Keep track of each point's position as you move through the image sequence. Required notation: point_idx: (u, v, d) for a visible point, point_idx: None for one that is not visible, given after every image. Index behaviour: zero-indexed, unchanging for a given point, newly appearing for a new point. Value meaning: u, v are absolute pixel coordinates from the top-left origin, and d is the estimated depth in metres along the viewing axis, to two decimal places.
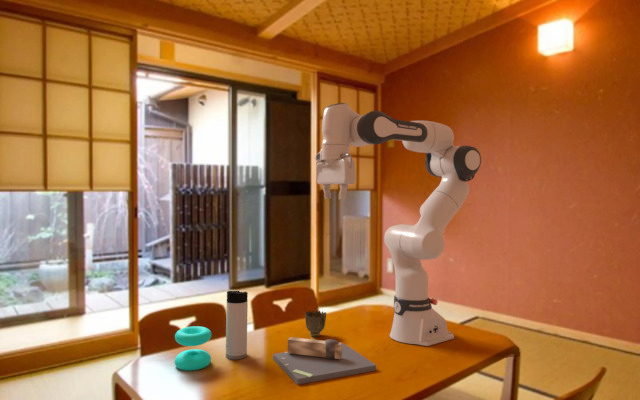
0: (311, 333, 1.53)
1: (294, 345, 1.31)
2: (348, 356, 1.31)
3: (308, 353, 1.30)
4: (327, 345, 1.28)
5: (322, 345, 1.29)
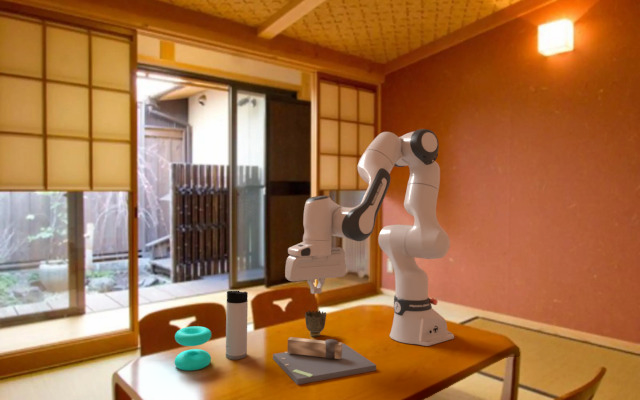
0: (311, 333, 1.53)
1: (294, 345, 1.31)
2: (348, 356, 1.31)
3: (308, 353, 1.30)
4: (327, 345, 1.28)
5: (322, 345, 1.29)
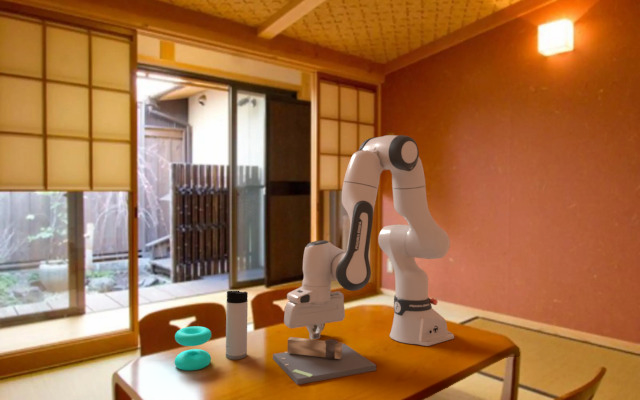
0: None
1: (294, 345, 1.31)
2: (348, 356, 1.31)
3: (308, 353, 1.30)
4: (327, 345, 1.28)
5: (322, 345, 1.29)
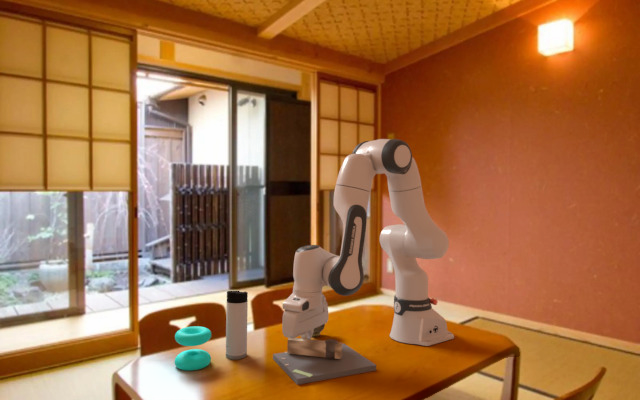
0: None
1: (294, 345, 1.31)
2: (348, 356, 1.31)
3: (308, 353, 1.30)
4: (327, 345, 1.28)
5: (322, 345, 1.29)
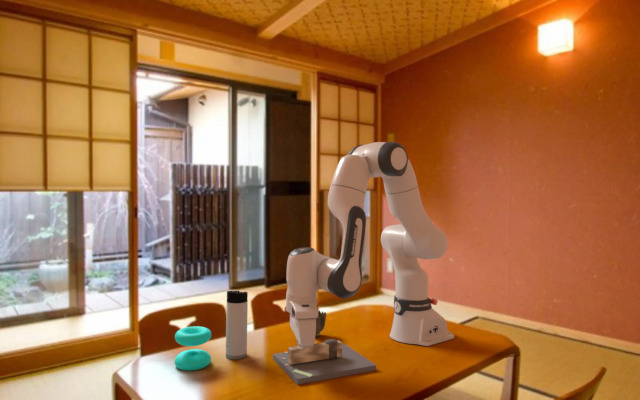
0: None
1: (298, 354, 1.24)
2: (348, 356, 1.31)
3: (312, 359, 1.26)
4: (332, 346, 1.28)
5: (325, 346, 1.27)
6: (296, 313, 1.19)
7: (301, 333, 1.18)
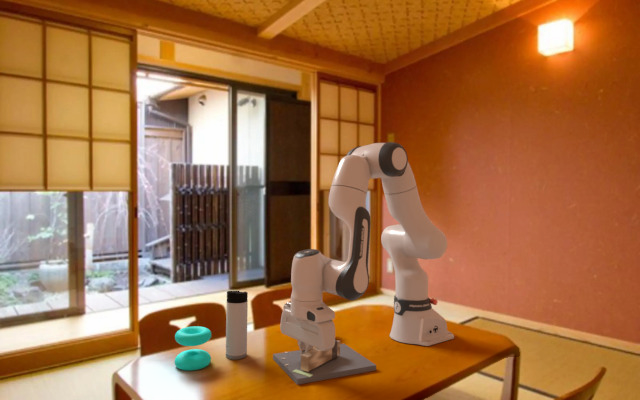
0: None
1: (313, 360, 1.20)
2: (348, 356, 1.31)
3: (321, 362, 1.23)
4: (335, 346, 1.28)
5: None
6: (318, 317, 1.16)
7: (324, 336, 1.16)
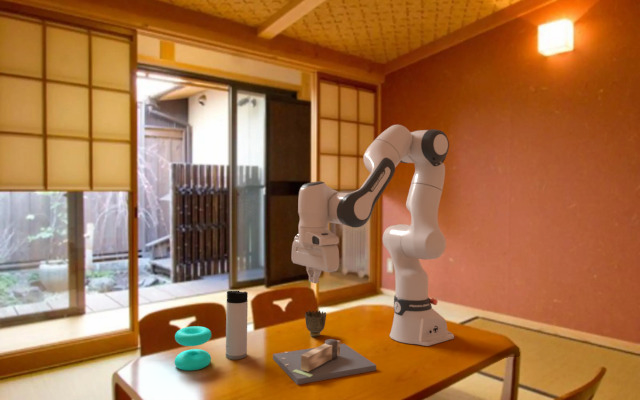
0: (311, 333, 1.53)
1: (313, 360, 1.20)
2: (348, 356, 1.31)
3: (322, 362, 1.23)
4: (335, 346, 1.28)
5: (330, 347, 1.27)
6: (321, 240, 1.23)
7: (328, 258, 1.23)
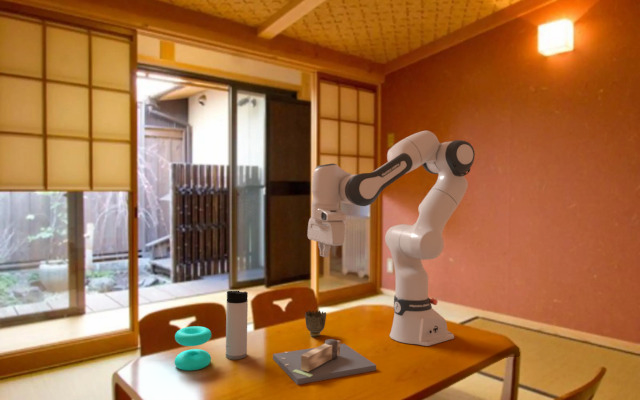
0: (311, 333, 1.53)
1: (313, 360, 1.20)
2: (348, 356, 1.31)
3: (322, 362, 1.23)
4: (335, 346, 1.28)
5: (330, 347, 1.27)
6: (328, 215, 1.34)
7: (333, 232, 1.34)
